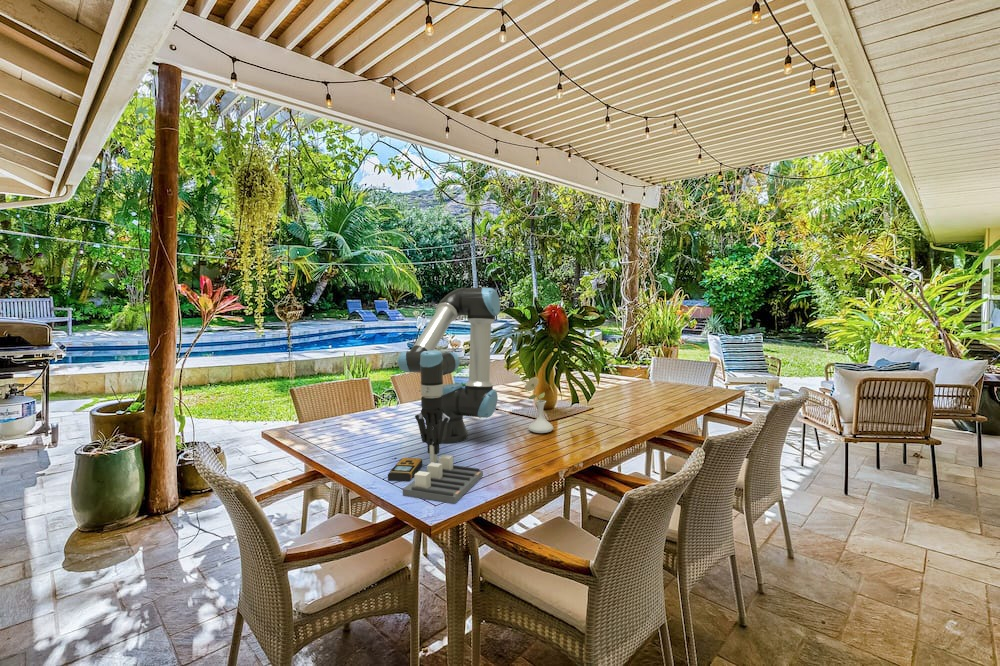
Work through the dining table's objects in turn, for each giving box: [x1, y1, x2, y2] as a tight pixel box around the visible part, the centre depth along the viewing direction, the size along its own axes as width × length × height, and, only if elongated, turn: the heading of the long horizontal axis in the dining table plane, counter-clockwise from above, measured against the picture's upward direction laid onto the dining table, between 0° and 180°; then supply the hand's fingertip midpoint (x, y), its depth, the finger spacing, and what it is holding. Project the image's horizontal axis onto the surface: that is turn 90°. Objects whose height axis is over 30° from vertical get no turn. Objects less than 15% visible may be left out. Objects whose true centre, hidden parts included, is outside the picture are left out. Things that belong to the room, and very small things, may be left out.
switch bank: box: [402, 464, 484, 505], centre depth 157 cm, size 22×18×3 cm
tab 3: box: [438, 454, 454, 470], centre depth 165 cm, size 3×4×4 cm
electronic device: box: [387, 457, 423, 482], centre depth 169 cm, size 8×16×3 cm, turn 173°
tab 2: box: [426, 462, 443, 479], centre depth 158 cm, size 3×4×4 cm
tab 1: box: [414, 470, 431, 489], centre depth 150 cm, size 3×4×4 cm
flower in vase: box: [524, 376, 554, 434], centre depth 214 cm, size 13×11×25 cm
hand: (433, 462), depth 167 cm, fingers closed
